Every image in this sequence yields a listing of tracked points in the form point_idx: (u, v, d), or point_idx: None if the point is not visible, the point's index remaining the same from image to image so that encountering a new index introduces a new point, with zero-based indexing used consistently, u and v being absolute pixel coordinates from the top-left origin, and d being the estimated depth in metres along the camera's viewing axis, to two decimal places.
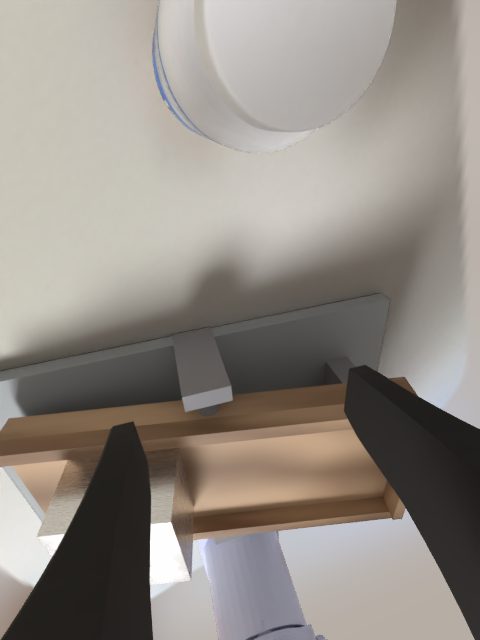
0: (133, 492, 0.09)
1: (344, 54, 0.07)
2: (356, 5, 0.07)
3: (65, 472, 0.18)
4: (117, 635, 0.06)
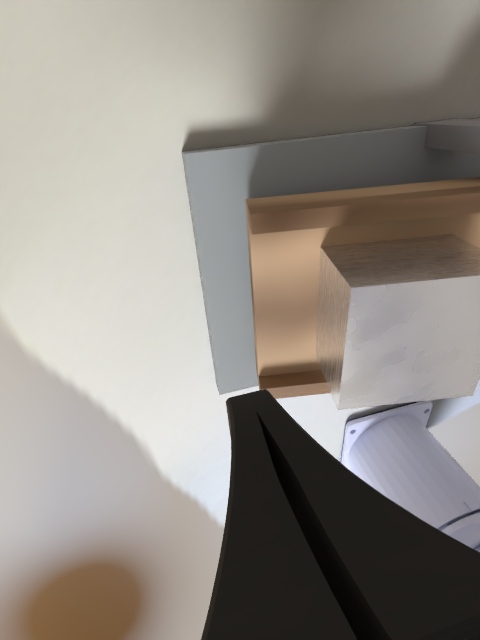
0: None
1: None
2: None
3: (329, 253, 0.15)
4: None
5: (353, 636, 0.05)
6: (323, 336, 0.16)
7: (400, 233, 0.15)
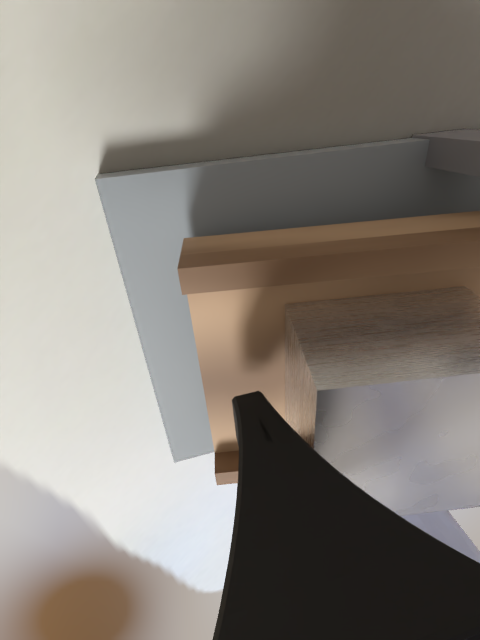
0: None
1: None
2: None
3: (295, 317, 0.11)
4: None
5: (366, 631, 0.05)
6: (291, 418, 0.12)
7: (392, 286, 0.11)
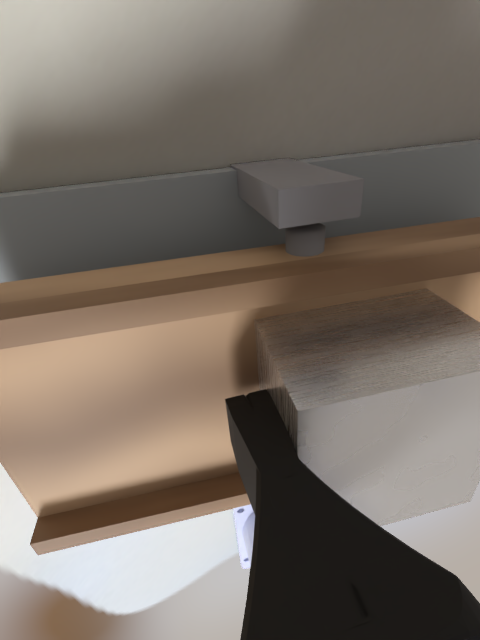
0: None
1: None
2: None
3: (266, 332, 0.10)
4: None
5: (394, 620, 0.05)
6: None
7: (175, 331, 0.11)
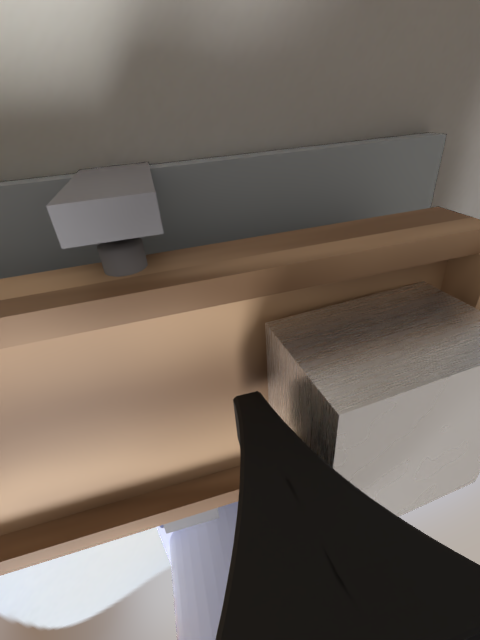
0: None
1: None
2: None
3: (281, 335, 0.10)
4: None
5: (368, 630, 0.05)
6: None
7: None
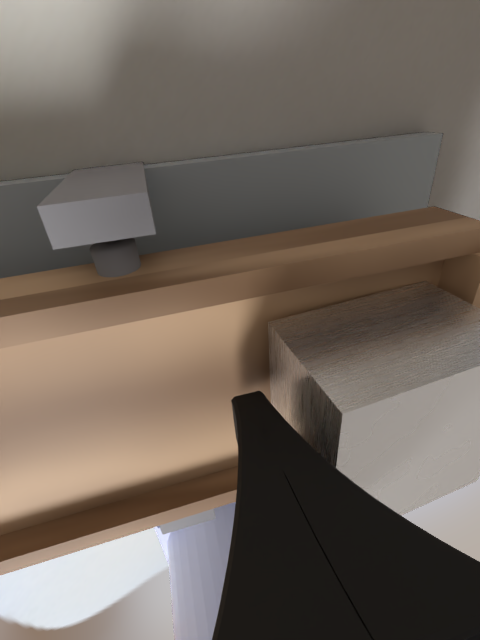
0: None
1: None
2: None
3: (284, 334, 0.10)
4: None
5: (365, 632, 0.05)
6: None
7: None
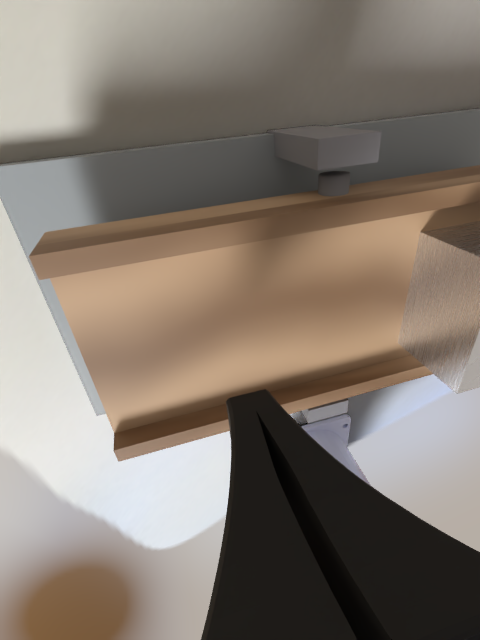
0: None
1: None
2: None
3: (437, 237, 0.14)
4: None
5: (353, 636, 0.05)
6: (422, 322, 0.16)
7: (236, 258, 0.13)
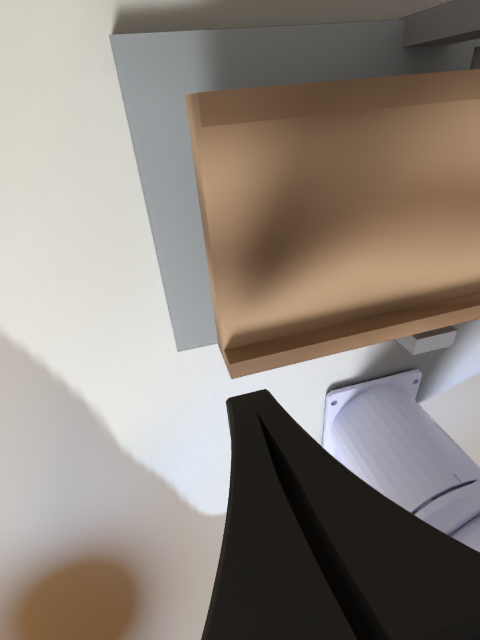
0: None
1: None
2: None
3: None
4: None
5: (353, 636, 0.05)
6: None
7: (387, 137, 0.12)
